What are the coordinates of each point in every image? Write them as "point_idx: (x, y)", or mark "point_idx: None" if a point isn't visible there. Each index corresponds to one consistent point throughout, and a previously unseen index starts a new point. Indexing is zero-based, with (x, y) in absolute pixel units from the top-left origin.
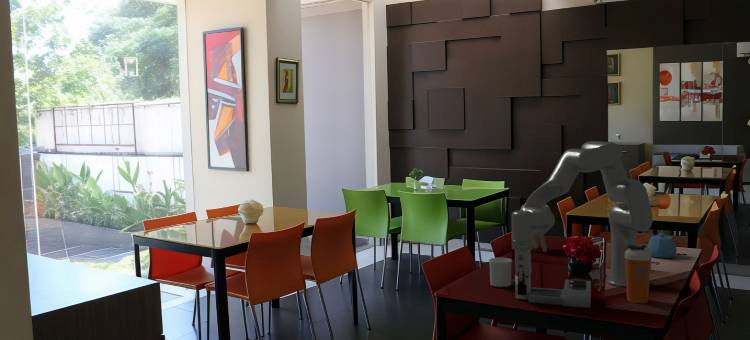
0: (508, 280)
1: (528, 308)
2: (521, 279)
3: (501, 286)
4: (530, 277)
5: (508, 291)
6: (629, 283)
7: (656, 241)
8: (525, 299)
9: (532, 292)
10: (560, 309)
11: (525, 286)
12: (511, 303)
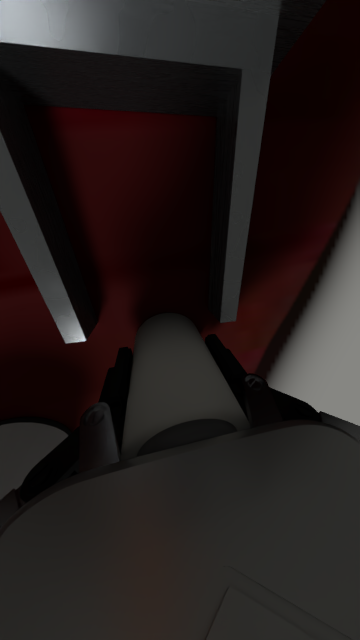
0: (18, 450)
1: (294, 292)
2: (342, 424)
3: (64, 433)
4: (192, 402)
5: (96, 400)
6: None
7: None
8: (195, 326)
9: (92, 323)
10: (329, 113)
11: (234, 365)
12: (239, 354)
